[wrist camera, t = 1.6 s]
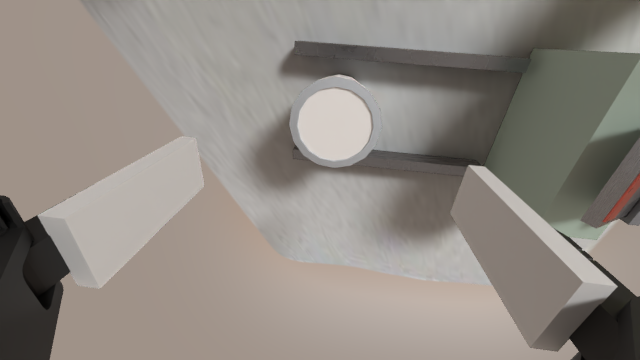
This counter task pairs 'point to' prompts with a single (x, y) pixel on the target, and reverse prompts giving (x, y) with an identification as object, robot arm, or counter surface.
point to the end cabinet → (569, 134)
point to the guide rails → (421, 58)
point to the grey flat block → (617, 192)
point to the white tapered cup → (335, 121)
